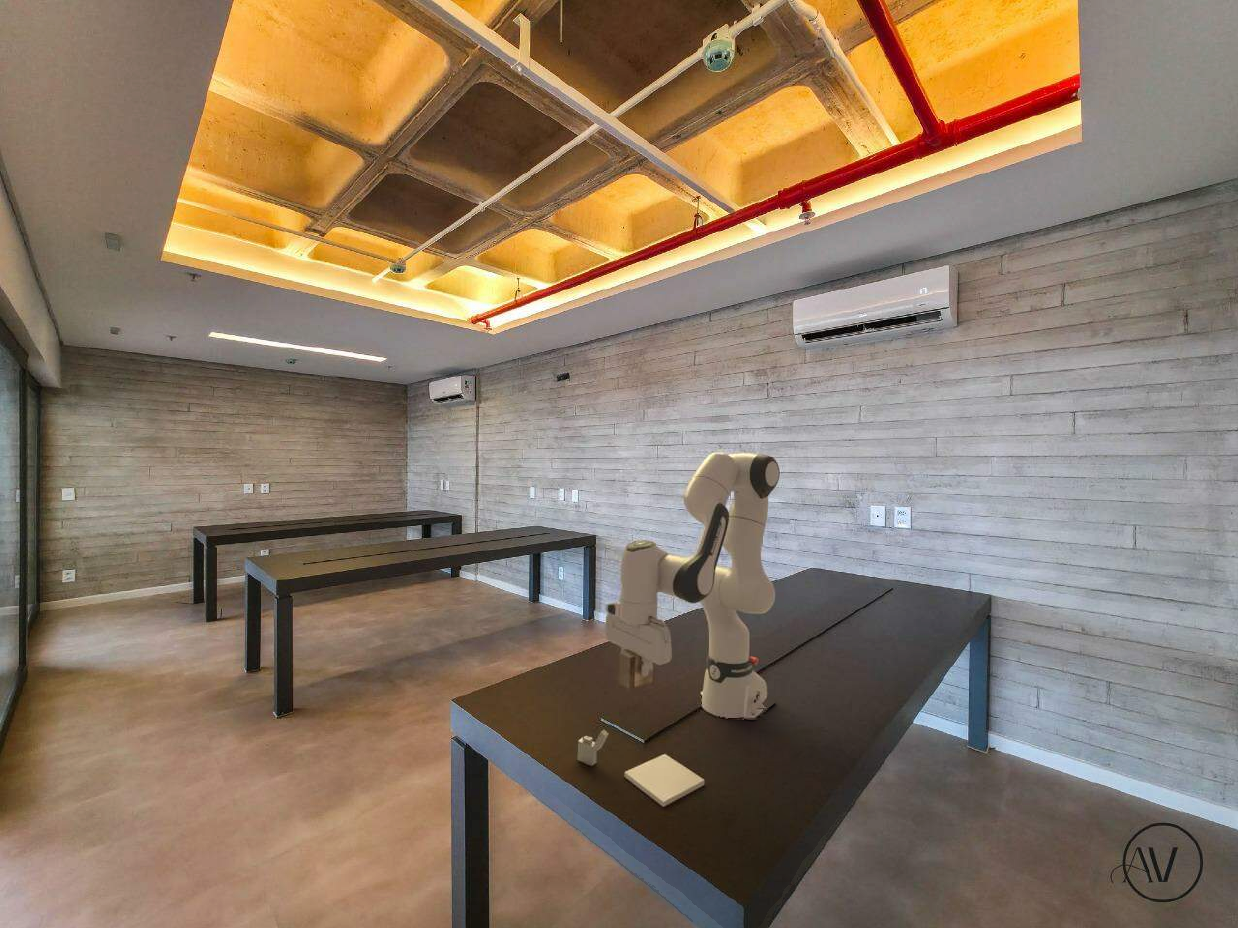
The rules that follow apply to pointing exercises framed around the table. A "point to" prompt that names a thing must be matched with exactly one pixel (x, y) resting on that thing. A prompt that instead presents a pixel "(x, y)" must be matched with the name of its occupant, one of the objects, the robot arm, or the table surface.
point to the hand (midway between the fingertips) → (635, 670)
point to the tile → (664, 779)
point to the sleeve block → (632, 670)
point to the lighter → (590, 748)
